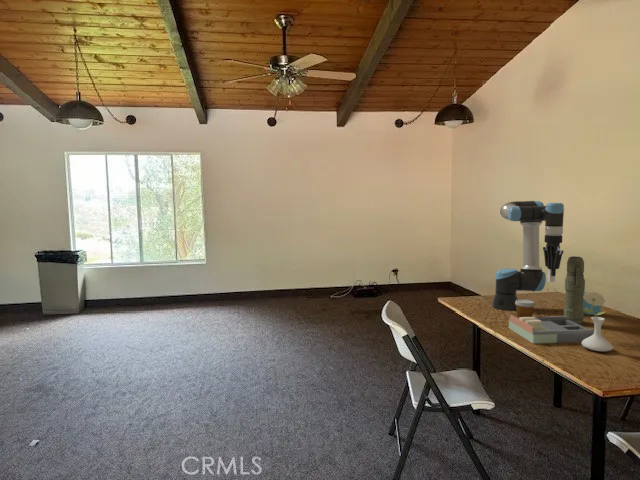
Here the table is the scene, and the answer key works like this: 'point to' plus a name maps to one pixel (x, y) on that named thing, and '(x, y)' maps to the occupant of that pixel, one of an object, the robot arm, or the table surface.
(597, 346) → the flower in vase
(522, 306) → the disposable coffee cup
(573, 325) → the box
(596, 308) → the data package
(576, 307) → the thermos
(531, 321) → the birch block
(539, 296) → the table surface
